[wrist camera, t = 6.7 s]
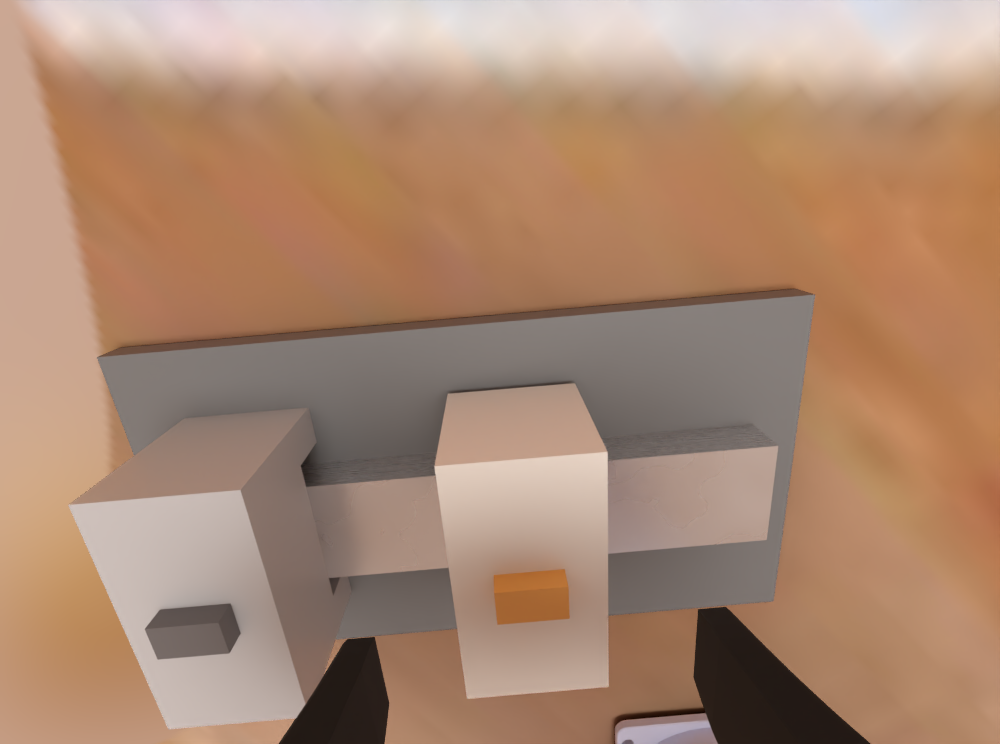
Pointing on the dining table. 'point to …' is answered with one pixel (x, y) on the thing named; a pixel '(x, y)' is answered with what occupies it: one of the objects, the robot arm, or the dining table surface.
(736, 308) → the mounting board
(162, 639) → the module
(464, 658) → the din module
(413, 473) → the din rail
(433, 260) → the dining table surface
